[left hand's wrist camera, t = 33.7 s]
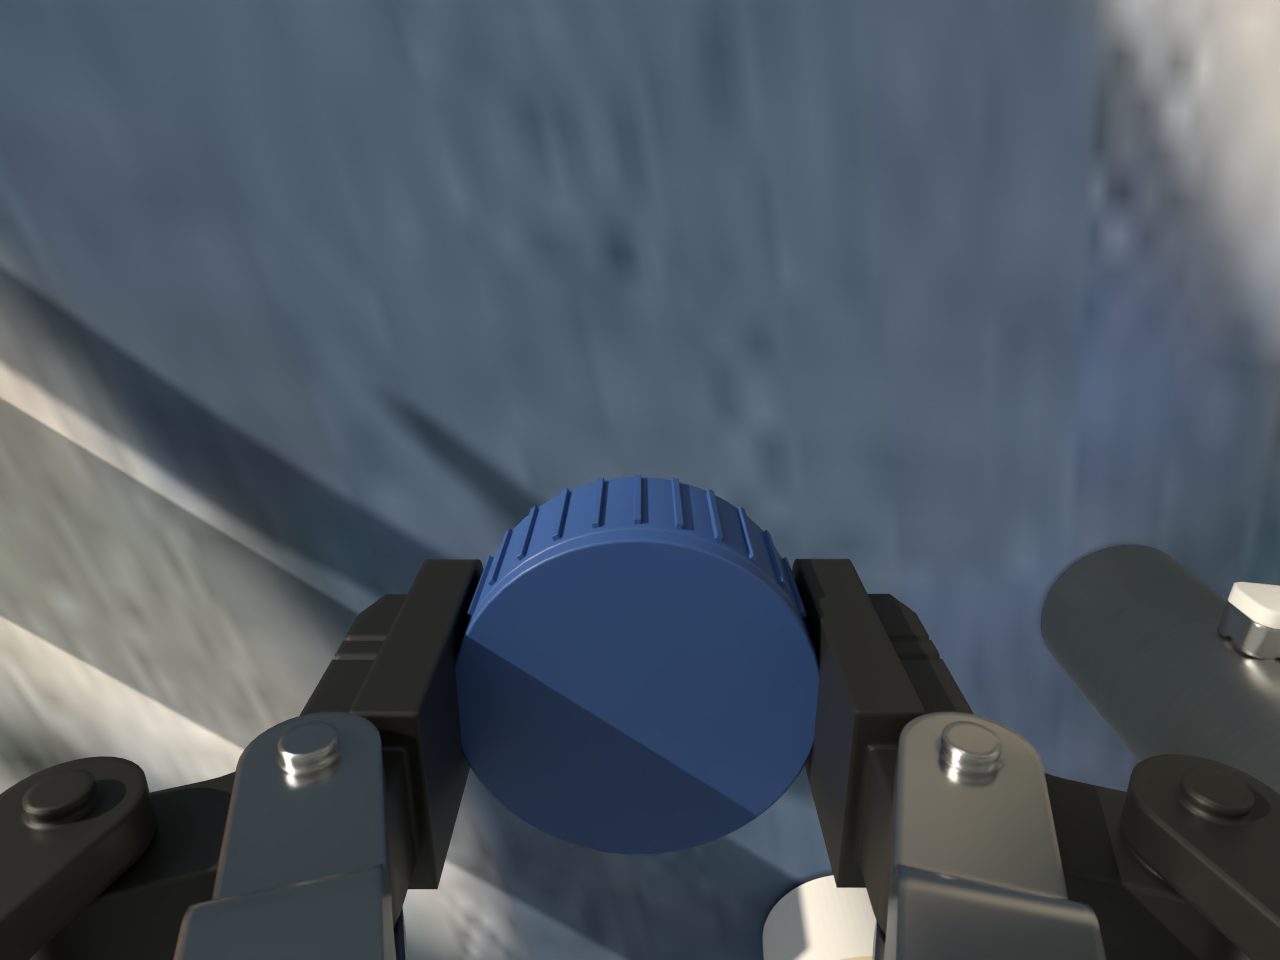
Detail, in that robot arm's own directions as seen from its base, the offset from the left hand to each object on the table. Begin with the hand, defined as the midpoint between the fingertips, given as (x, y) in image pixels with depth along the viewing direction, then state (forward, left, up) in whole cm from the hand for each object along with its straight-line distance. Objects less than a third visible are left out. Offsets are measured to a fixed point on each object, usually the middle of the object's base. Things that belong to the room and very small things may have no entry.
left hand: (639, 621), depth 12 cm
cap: (0, 0, +2) cm, 2 cm away
